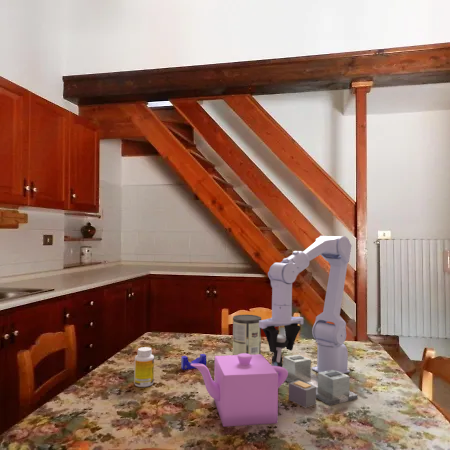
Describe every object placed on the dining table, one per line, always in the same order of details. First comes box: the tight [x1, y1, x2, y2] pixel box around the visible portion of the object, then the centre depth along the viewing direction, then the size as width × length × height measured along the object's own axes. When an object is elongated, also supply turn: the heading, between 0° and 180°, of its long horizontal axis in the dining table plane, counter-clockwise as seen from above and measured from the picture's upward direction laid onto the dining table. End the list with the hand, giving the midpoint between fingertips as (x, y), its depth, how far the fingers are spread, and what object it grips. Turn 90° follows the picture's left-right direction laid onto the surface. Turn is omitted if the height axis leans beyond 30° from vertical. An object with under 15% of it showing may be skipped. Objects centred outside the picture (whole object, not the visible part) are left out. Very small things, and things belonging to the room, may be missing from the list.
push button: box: [270, 333, 289, 367], centre depth 118 cm, size 7×5×10 cm
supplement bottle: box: [133, 346, 155, 388], centre depth 118 cm, size 6×6×10 cm
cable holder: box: [180, 353, 207, 371], centre depth 134 cm, size 8×4×4 cm, turn 113°
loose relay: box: [288, 380, 317, 409], centre depth 107 cm, size 4×6×5 cm, turn 38°
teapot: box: [190, 353, 288, 428], centre depth 101 cm, size 15×25×14 cm, turn 99°
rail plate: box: [277, 353, 359, 406], centre depth 118 cm, size 10×24×6 cm, turn 28°
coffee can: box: [232, 314, 262, 355], centre depth 146 cm, size 10×10×14 cm
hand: (281, 350), depth 117 cm, fingers closed on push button, 5 cm apart
